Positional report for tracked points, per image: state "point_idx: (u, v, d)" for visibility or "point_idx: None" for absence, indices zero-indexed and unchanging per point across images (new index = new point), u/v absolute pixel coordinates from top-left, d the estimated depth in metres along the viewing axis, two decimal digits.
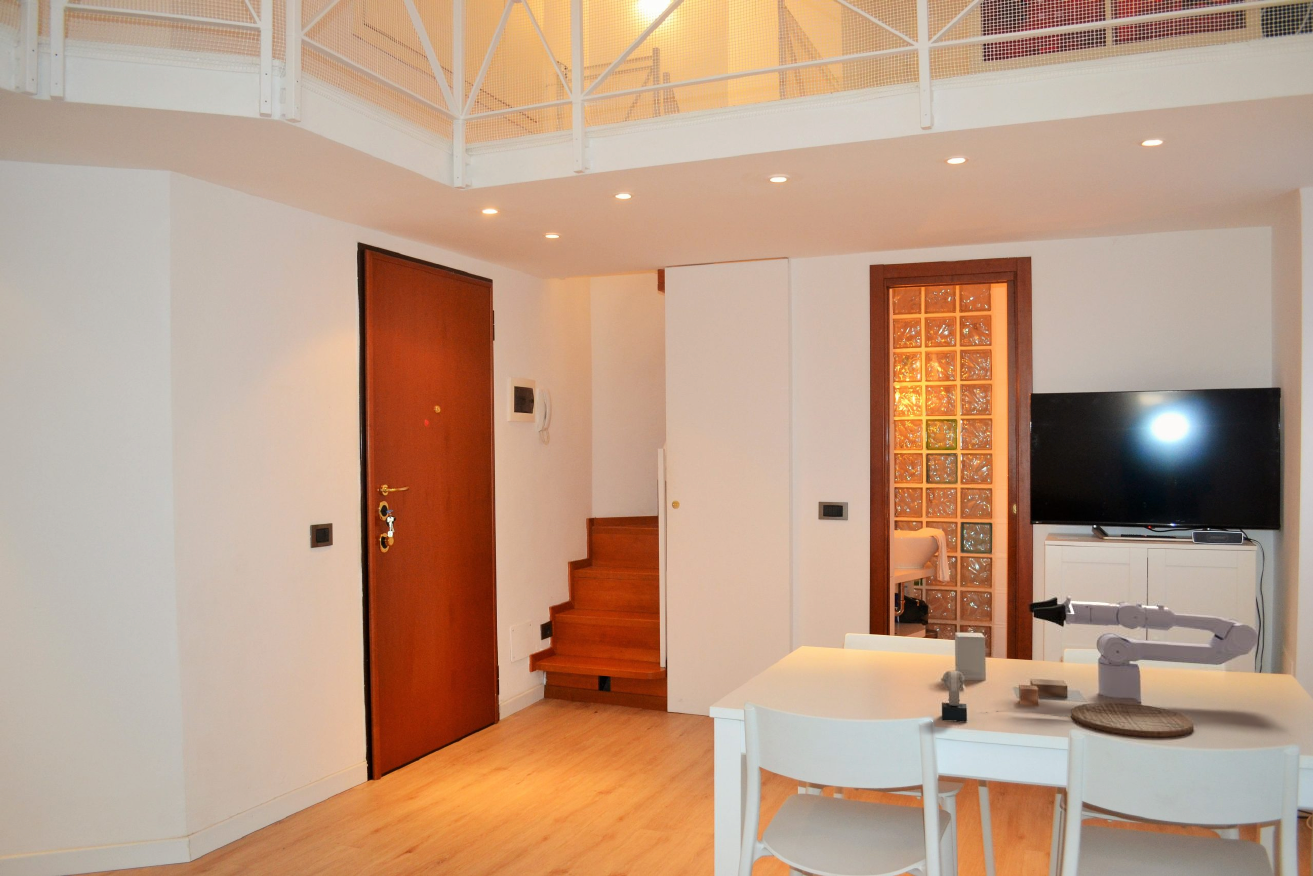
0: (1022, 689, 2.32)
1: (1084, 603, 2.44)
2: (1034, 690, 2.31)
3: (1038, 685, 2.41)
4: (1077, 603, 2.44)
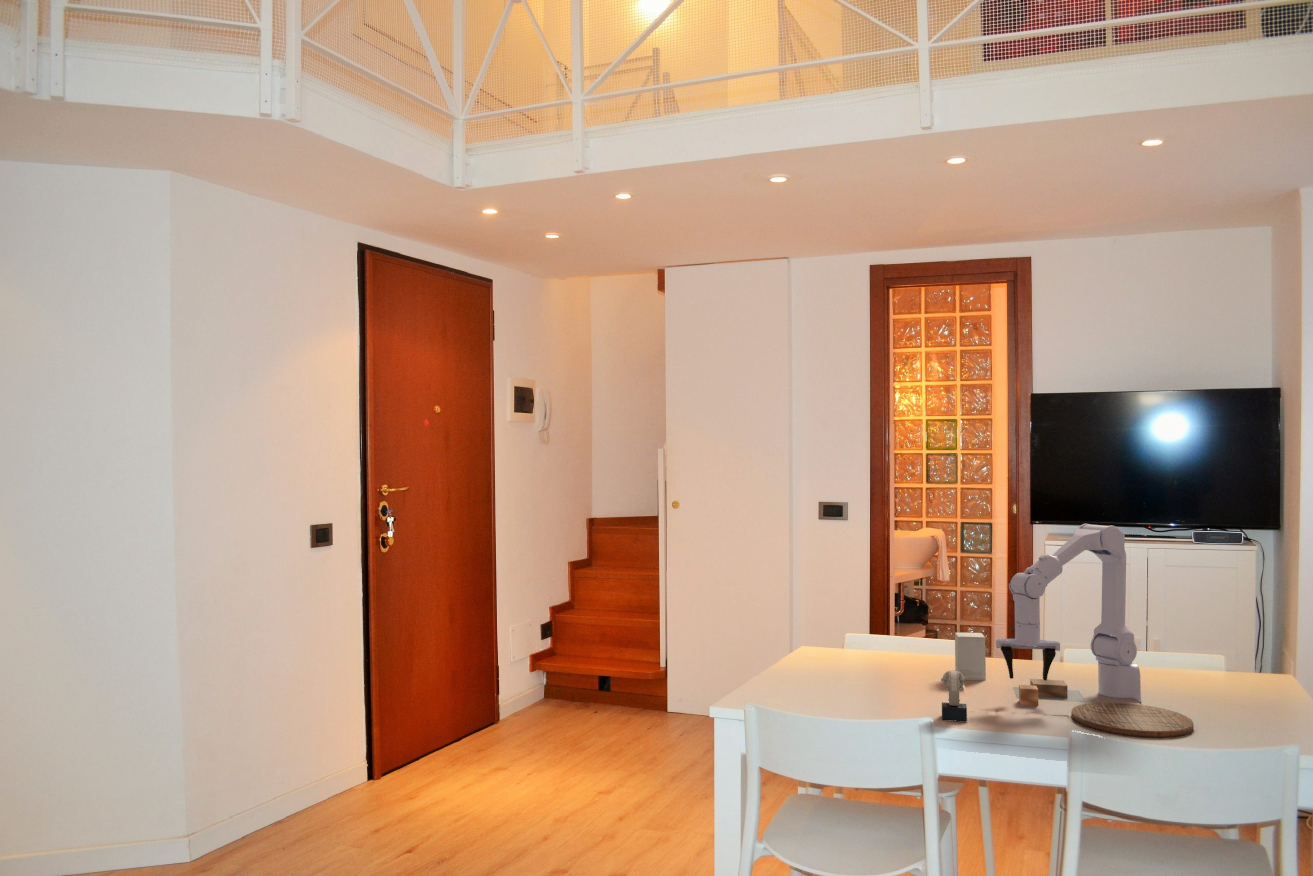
0: (1022, 689, 2.32)
1: (1033, 629, 2.31)
2: (1034, 690, 2.31)
3: (1038, 685, 2.41)
4: (1033, 636, 2.31)
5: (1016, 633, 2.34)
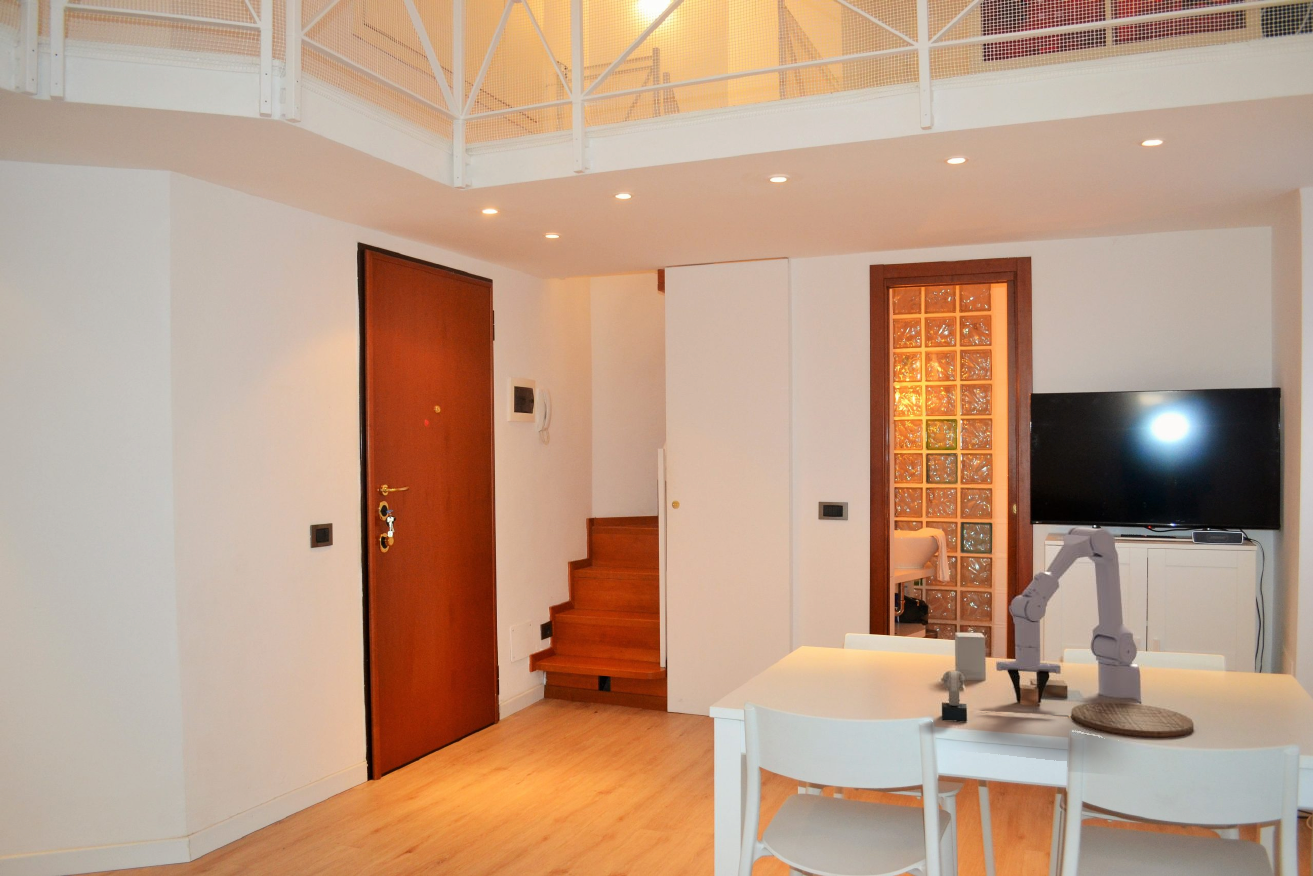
0: (1022, 689, 2.32)
1: (1033, 652, 2.31)
2: (1034, 690, 2.31)
3: None
4: (1034, 659, 2.31)
5: (1016, 656, 2.34)
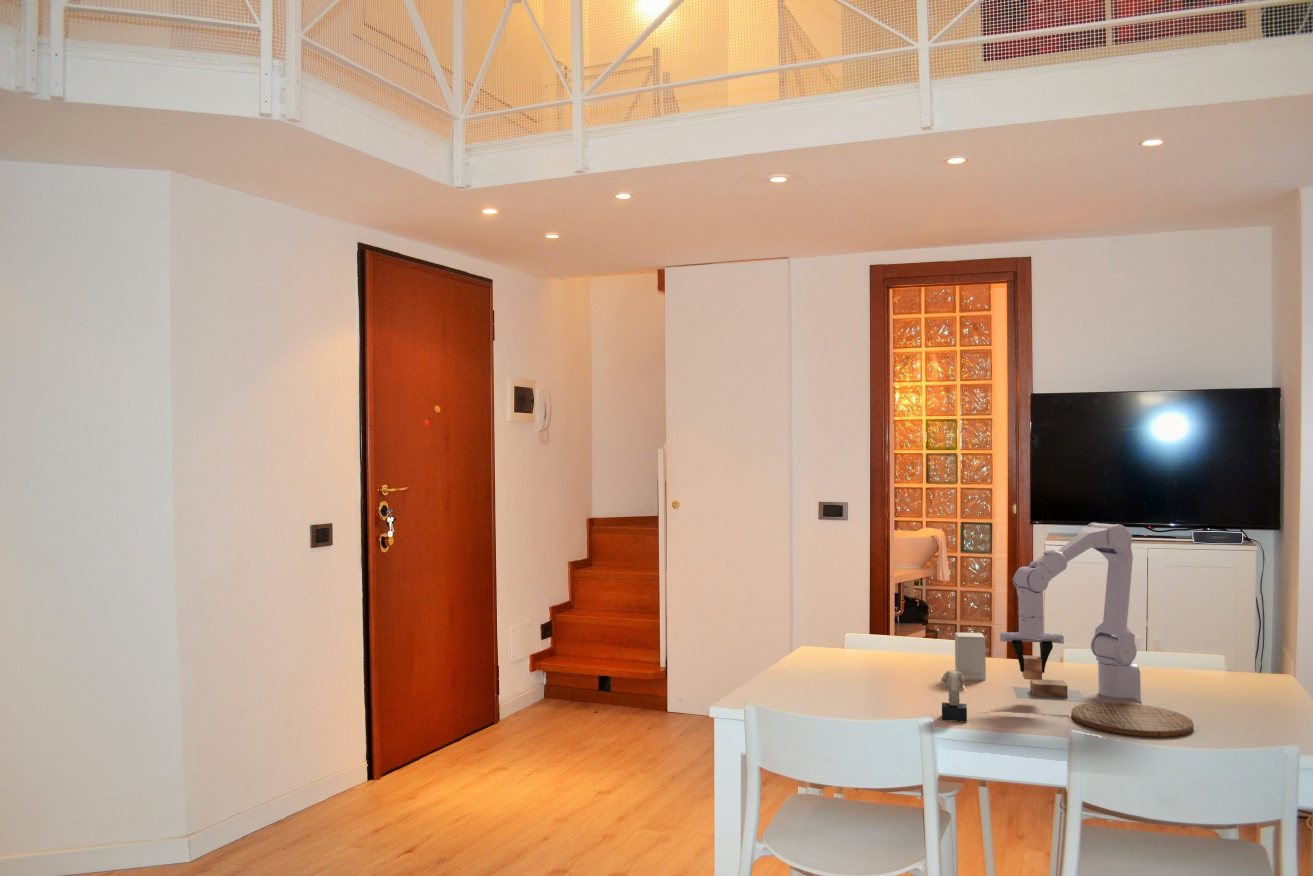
0: (1026, 659, 2.34)
1: (1036, 622, 2.33)
2: (1038, 660, 2.33)
3: (1038, 685, 2.41)
4: (1037, 629, 2.33)
5: (1020, 626, 2.35)
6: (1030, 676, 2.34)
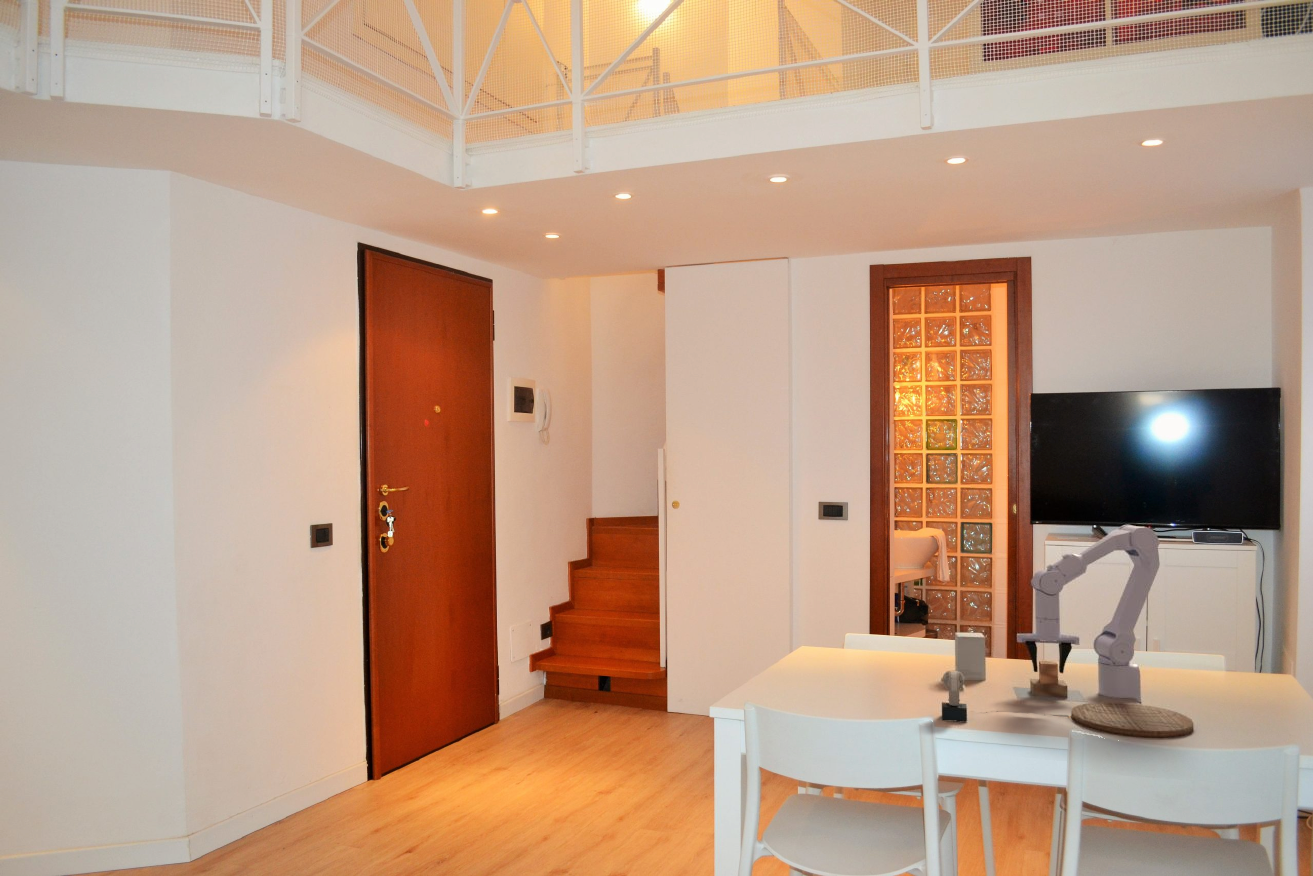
0: (1042, 664, 2.41)
1: (1053, 624, 2.40)
2: (1054, 665, 2.41)
3: (1038, 685, 2.41)
4: (1054, 631, 2.40)
5: (1037, 628, 2.43)
6: (1046, 680, 2.41)
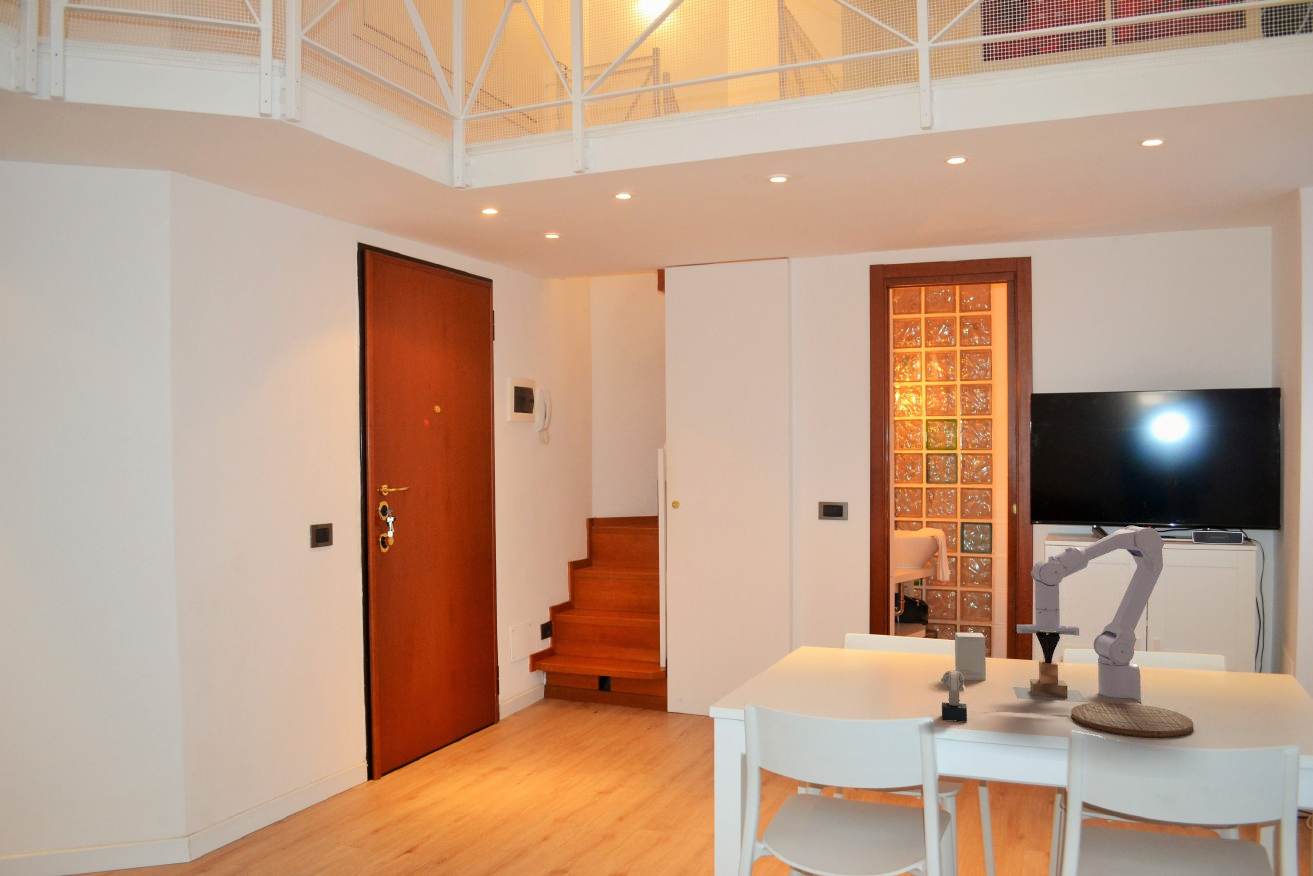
0: (1042, 664, 2.41)
1: (1053, 614, 2.40)
2: (1054, 665, 2.41)
3: (1038, 685, 2.41)
4: (1054, 621, 2.40)
5: (1036, 619, 2.43)
6: (1046, 680, 2.41)
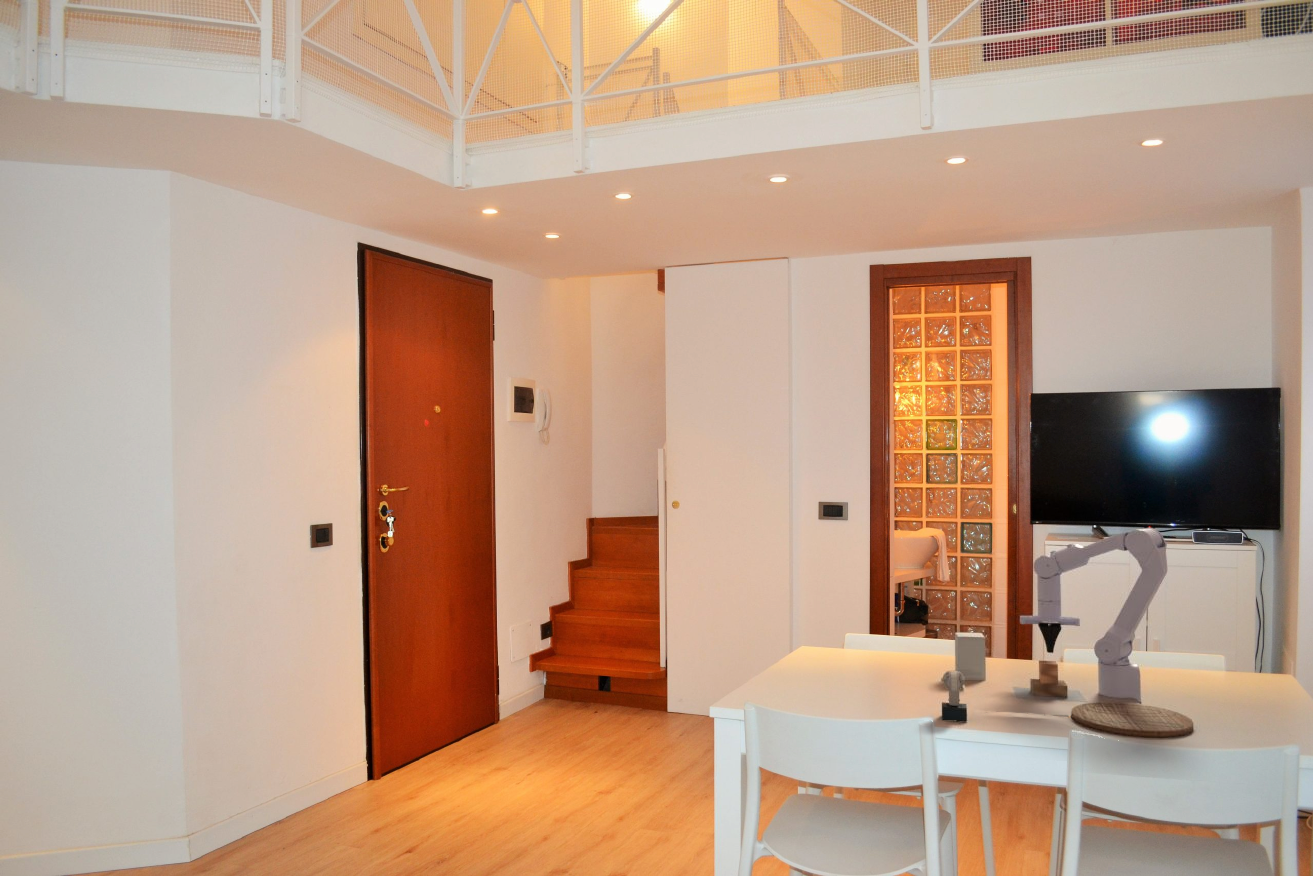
0: (1042, 664, 2.41)
1: (1054, 606, 2.52)
2: (1054, 665, 2.41)
3: (1038, 685, 2.41)
4: (1055, 612, 2.51)
5: (1039, 610, 2.54)
6: (1046, 680, 2.41)
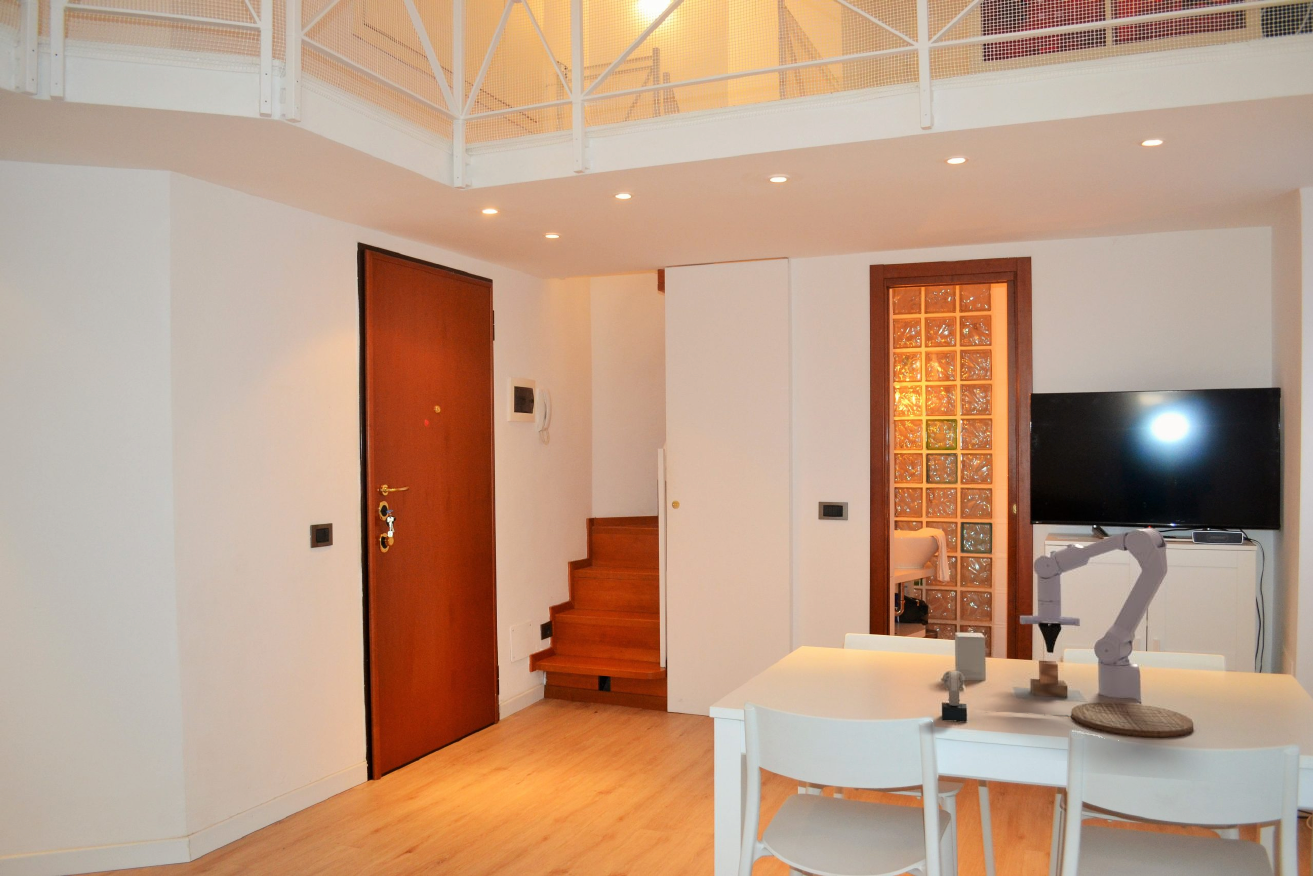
0: (1042, 664, 2.41)
1: (1054, 606, 2.52)
2: (1054, 665, 2.41)
3: (1038, 685, 2.41)
4: (1055, 612, 2.51)
5: (1039, 610, 2.54)
6: (1046, 680, 2.41)
